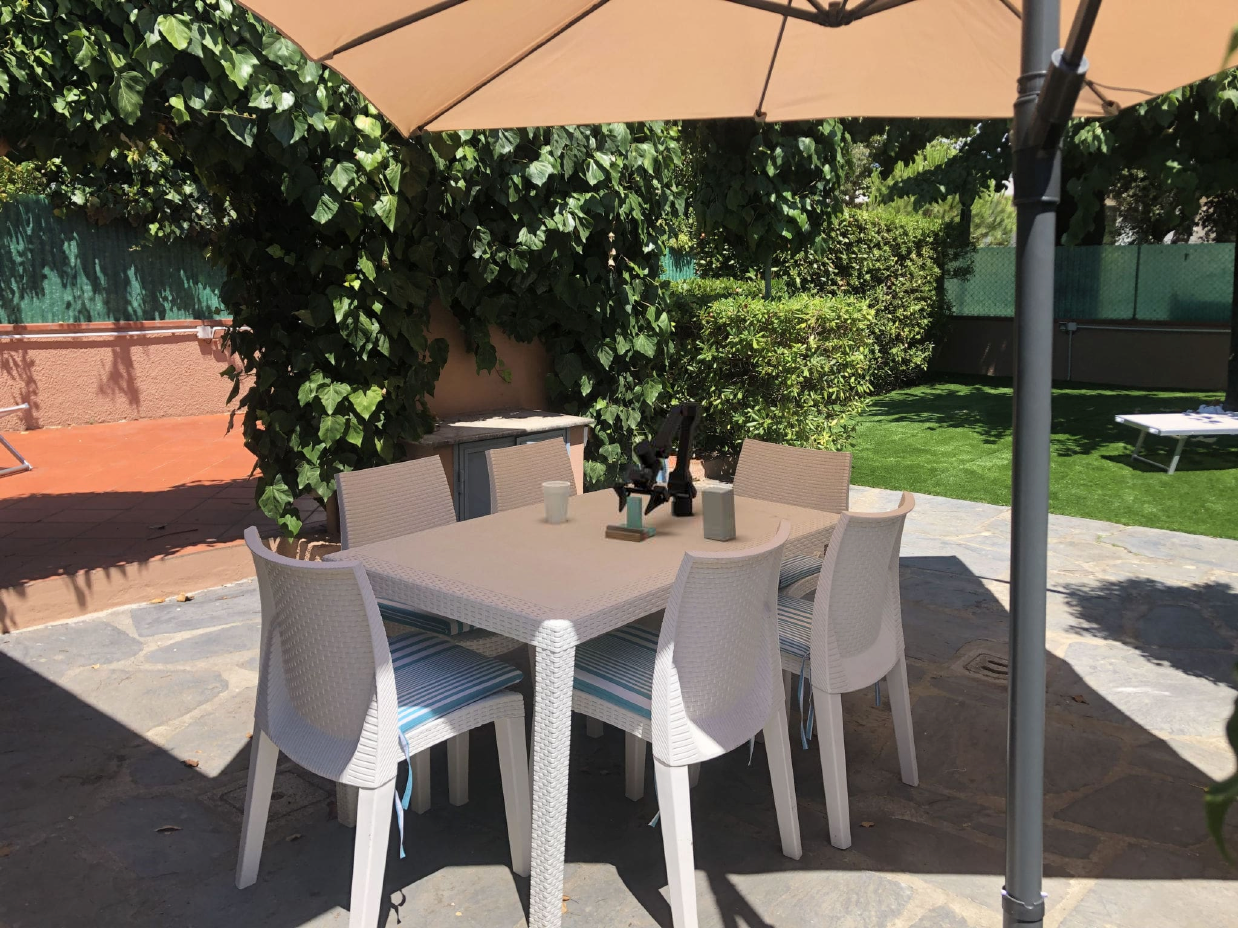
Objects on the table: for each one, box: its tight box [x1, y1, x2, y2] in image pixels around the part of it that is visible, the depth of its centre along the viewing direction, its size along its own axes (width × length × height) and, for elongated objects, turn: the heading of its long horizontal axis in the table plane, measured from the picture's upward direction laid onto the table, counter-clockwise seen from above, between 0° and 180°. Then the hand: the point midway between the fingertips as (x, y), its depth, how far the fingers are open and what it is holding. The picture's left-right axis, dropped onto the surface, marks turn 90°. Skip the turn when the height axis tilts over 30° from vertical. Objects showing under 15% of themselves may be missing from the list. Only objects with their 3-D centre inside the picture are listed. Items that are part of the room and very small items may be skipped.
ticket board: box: [604, 524, 650, 543], centre depth 309 cm, size 6×13×4 cm, turn 60°
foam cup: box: [541, 480, 571, 525], centre depth 332 cm, size 10×9×13 cm
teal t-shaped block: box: [617, 495, 657, 537], centre depth 313 cm, size 4×12×12 cm, turn 60°
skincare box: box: [701, 486, 737, 542], centre depth 306 cm, size 8×7×16 cm
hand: (632, 513), depth 311 cm, fingers open, 9 cm apart
